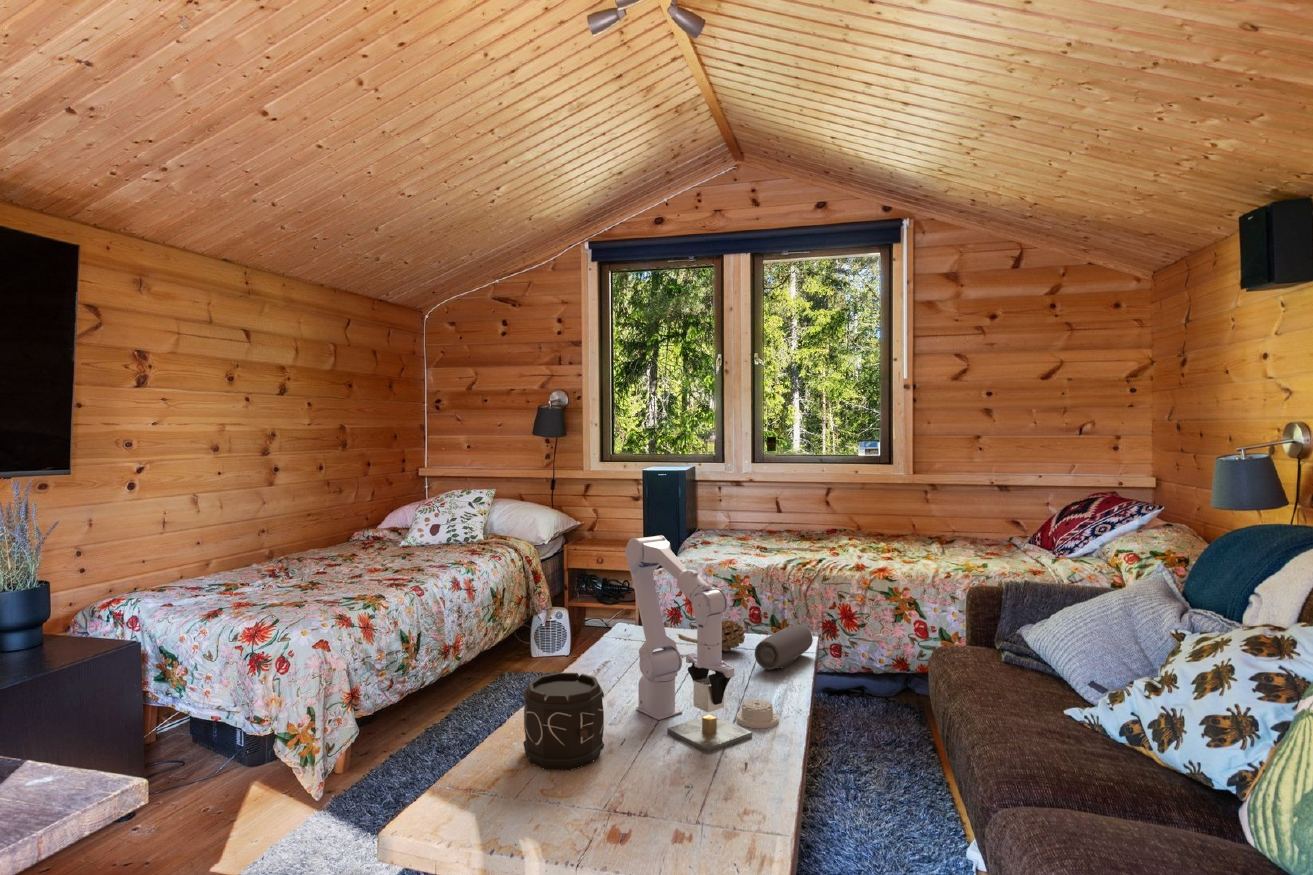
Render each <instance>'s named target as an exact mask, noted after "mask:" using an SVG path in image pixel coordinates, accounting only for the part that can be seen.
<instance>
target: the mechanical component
mask: <svg viewBox="0 0 1313 875" xmlns="http://www.w3.org/2000/svg"><path fill="white" fill-rule="evenodd" d="M773 706H774V705H773V703H770V701H768V700H767V701H766V700H765V699H761V698H760V699H759V698H753V699H746V701H742V703H741V710H740V711H739V710H738V712H737V713H736V722H737V723H738V724H740V725H741V726H744V727H746V728H751V729H760V730H761V729H769V728H772V727H775V726H776V725H777V724H778V723H779V722H778V720H779V716H778V714H777V713H775V712H774V707H773Z"/></svg>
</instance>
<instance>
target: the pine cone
mask: <svg viewBox="0 0 1313 875" xmlns="http://www.w3.org/2000/svg"><path fill="white" fill-rule="evenodd" d="M745 634H746V633H745V628H744V627H743V626H742V624H739V622H738V621H736V622H734V621H733V620H728V619H724V620H722V651H723V652H727V651H729V652H730V651H731V650H732V649H735V648H738V647H740V645H742V644H744V642H745V639H746V638H745V637H746V636H745ZM676 635H677V637H678V639H680V641H684V642H687V643H693V644H697V638H691V637H688V636H685V635H683V634H680V633H677V634H676Z"/></svg>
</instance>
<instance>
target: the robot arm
mask: <svg viewBox="0 0 1313 875" xmlns="http://www.w3.org/2000/svg"><path fill="white" fill-rule="evenodd" d="M624 549H625V550H624V553H625V557H626V561H627V566H628V570H629V572H630V575H631V581H632V585H633V589H634V592H635V599H636V602H637V607H638V612H639V616H640V621H641V625H642V628H643V634H644V639H645V641H644V642H643V644H642V645H641V646H640V648H639V649H638V655H639V669H640V670H639V671H640V672H641V674H642V675H641V677H640V678H639V681H638V684H637V685H638V689H637V690H638V692H637V694H638V702H637V703H638V706H636V707H635V710H637V711H639V712H641V713H643V714H645V715H648V716H649V717H651V718H654V719H656V720H657V721H661V720H663V719H666V718H669V717H673V716H676V715H679V714H682V713H683V710H682V709H680V708H678V707H676V677H678V673H679V672H680V671H681V670H682V667H683V658H682V654H681V653H680V651H679V649H678V647H677V643H676V641H675V640H674V639H672V638H670V636H667V633H666V629H665V625H664V620H663V616H662V615H663V614H662V611H661V606H660V603H659V598H658V594H657V593H658V592H657V590H656V586H655V585H656V584H655V581H654V577H653V575H654V573H655V571H656V569H658V568H659V567H662V568H663V569H664V570H666V572H667V573H669V574H670V575H671V576H672V578H674V579H675V580H676V587H677V588H678V589H679V590H680V591H681V593H682V594H683V595H684V596H685V597H686V598H687V599H688V600H689V601H690V602H691V608H692V611H693V613H694V621H695V624H696V630H697V631H696V632H697V633H696V639H697V643H696V645H697V646H696V653H694V652H690V653H686V654H685V663H687V664H691V665H690V666H688V668H687V672H688V674H689V675H690V677H691V679H692V683H693V684H694V680H698V679H701V678H704V677H709V680H710V683H711V687H712V698H713V704H714V705H717V704H721V703H722V699H723V695H724V696H725V692H726V689H727V687H728V684H729V682H730V680H731V678H733V677H735V668H734V667H732V666H731V665H729V664H728V663H727V662H725V661H724V660H722V658H723V652H722V651H723V650H722V621H723V617H722V615H723V613H725V611H726V610H727V607H728V599H727V596H726V594H725V593H724V591H723V590H722V589H721V588H717V587H716V588H715V587H714V586H711V585H710V584H709V583H707V582H706V581H705V579H704V578H702V577H701V575H700V574H699V572H698V571H697V570H694V569H687V567H686V566H685V565H684V564H683V563H682V562H681V560H680V559H679V558H678V557H677V555H675V553H674V552H673V551H672V548H671V543H670V541H668V540H667V538H666V537H665V536H664V535H662V534H661V535H659V534H658V535H655V536H647V537H638V538H636V537H635V538H634V537H633V538H631V539H629V540H628V542H627V544H626V547H625V548H624ZM658 649H661V650H658ZM655 650H657V651H655ZM710 671H712V672H714V673H712V674H709V672H710Z"/></svg>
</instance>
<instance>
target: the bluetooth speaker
mask: <svg viewBox="0 0 1313 875" xmlns="http://www.w3.org/2000/svg"><path fill="white" fill-rule="evenodd" d="M813 640H814V639H813V635H812V632H811V631H810V629H809V628H808V627H807V626H806V625H804V624H798V623H797V624H793V625H790V626H788V627H785V628H783V629H781V630H778V631H777V632H775V633H773V634H771V635H769V636H767V637H766V638H763V639H762V640H761V641H759V643H758V644H756V646H755V649H754V659H755V661H756V663H757V664H758V665H759V666H760V667H762V668H763V669H765V670H774V669H782V668H781V667H783V668H786V667H787V666H789V665H791V664H792V663H794V662H795V661H796V659H797V658H799V657H800V656H801V655H803V654H804V653H806V652H807V651H808V650H809V649H810V648H811V647H812V644H813ZM794 660H795V661H794ZM793 661H794V662H793ZM790 663H791V664H790ZM788 664H789V665H788ZM777 667H778V668H777Z"/></svg>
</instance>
